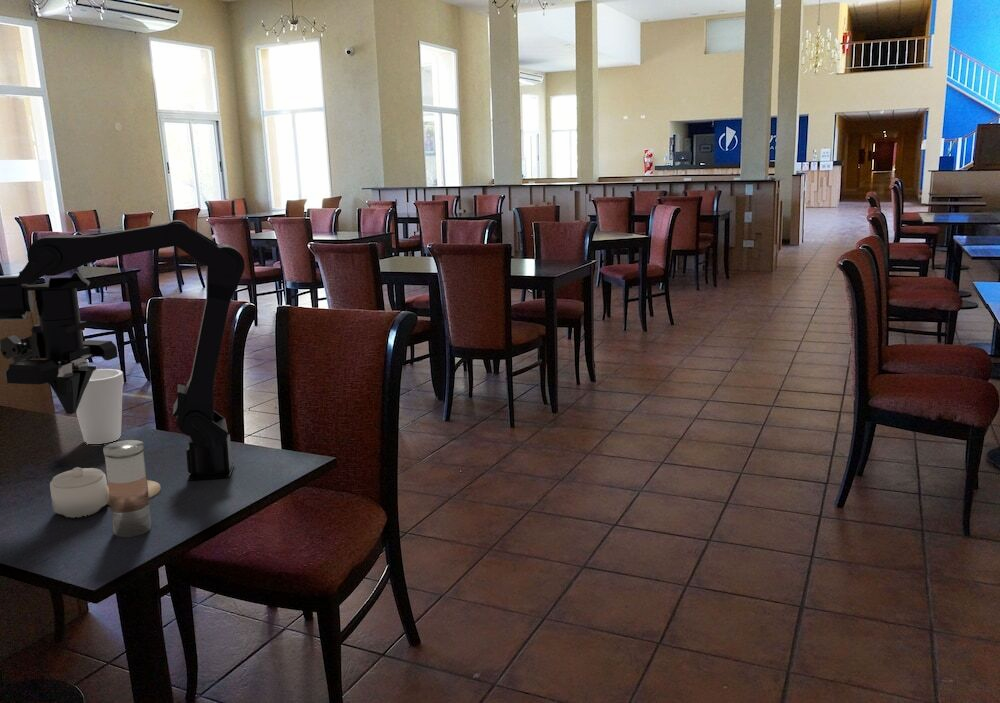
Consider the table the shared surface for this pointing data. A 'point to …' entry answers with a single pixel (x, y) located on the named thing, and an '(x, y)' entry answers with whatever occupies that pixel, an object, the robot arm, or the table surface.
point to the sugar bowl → (79, 492)
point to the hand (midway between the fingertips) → (71, 413)
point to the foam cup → (101, 407)
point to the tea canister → (127, 488)
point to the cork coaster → (152, 489)
